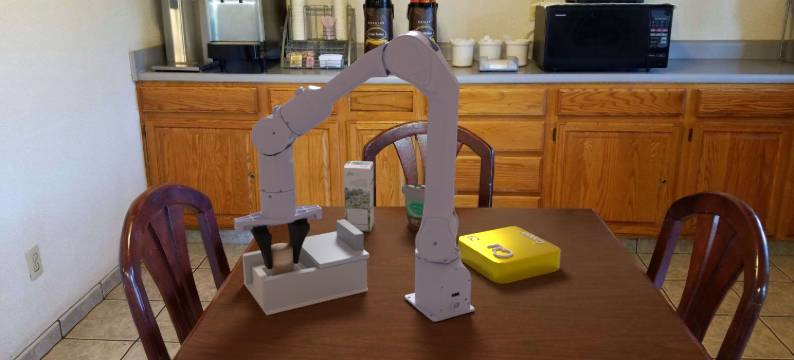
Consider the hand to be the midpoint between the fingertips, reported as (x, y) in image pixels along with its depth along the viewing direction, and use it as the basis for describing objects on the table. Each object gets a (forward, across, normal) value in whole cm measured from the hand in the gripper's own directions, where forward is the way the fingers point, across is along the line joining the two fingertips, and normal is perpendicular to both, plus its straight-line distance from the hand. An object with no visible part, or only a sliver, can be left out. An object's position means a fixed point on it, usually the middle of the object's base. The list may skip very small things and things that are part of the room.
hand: (281, 264), depth 108 cm
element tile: (+6, -42, +8) cm, 43 cm away
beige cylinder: (+1, 0, 0) cm, 1 cm away
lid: (-1, -9, 0) cm, 9 cm away
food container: (+5, -37, -14) cm, 40 cm away
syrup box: (+5, -25, -22) cm, 34 cm away
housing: (+5, -4, 0) cm, 7 cm away
